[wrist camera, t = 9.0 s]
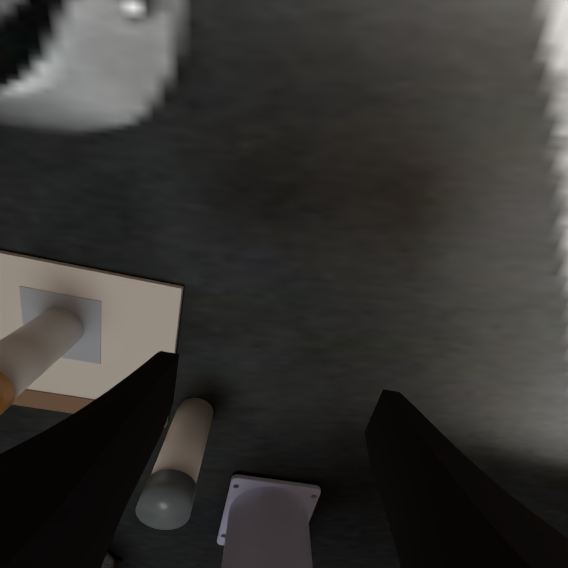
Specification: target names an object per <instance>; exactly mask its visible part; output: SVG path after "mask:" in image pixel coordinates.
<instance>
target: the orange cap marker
mask: <svg viewBox="0 0 568 568" xmlns="http://www.w3.org/2000/svg"><path fill="white" fill-rule="evenodd" d="M83 333H84V328H83V324H82V322H81V321H80V319H79V318H78V317H77V316H76V315H75V314H74V313H72V312H70V311H68V310H66V309H62V308H51V309H48V310H46V311H45V312H43V313H42V314H40V315H38V316H37V317H35V318H34V319H32V320H31V321H29V322H28V323H26V324H25V325H23V326H21V327H20V328H18V329H17V330H15V331H14V332H12V333H11V334H9V335H8V336H6V337H4V338H3V339H1V340H0V415H1V414H2V413H3V412H4V411H5V410H6V409H7V408H8V407H10V406H11V405H12V403H13V402H14V399H15V398H16V397H17V396H19V395H20V394H21V393H22V392H23V391H24V390H25V389H26V388H27V387H29V386H30V385H31V384H32V383H33V382H34V381H35V380H36V379H37V378H38V377H40V376H41V375H42V374H43V373H44V372H45V371H46V370H47V369H48V368H49V367H51V366H52V365H53V364H54V363H55V362H56V361H57V360H58V359H59V358H60V357H62V356H63V355H64V354H65V353H66V352H67V351H68V350H69V349H70V348H71V347H73V346H74V345H75V344H76V343H77V342H78V341H79V340H80V339H81V338H82V336H83Z"/></svg>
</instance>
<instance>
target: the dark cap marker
mask: <svg viewBox="0 0 568 568" xmlns="http://www.w3.org/2000/svg"><path fill="white" fill-rule="evenodd" d="M212 417H213V408H212V406H211V405H210V404H209V403H208V402H207V401H205V400H203V399H200V398H188V399H185V400H183V401H182V402H181V403H180V404H179V406H178V408H177V411H176V413H175V416H174V418H173V421H172V423H171V426H170V428H169V431H168V433H167V436H166V438H165V441H164V443H163V446H162V448H161V451H160V454H159V456H158V459H157V461H156V464H155V466H154V469H153V471H152V474H151V475H150V476H149V478H148V479H147V482H146V484H145V487H144V489H143V492H142V494H141V496H140V499H139V501H138V504H137V506H136V515H137V517H138V518H139V520H140V521H141V522H143V523H144V524H146V525H147V526H150V527H152V528H156V529H161V530H170V529H175V528H179V527H181V526H183V525H184V524H185V523H186V522H187V521H188V520H189V518H190V514H191V510H192V506H193V501H194V497H195V493H196V482H197V478H198V474H199V470H200V466H201V462H202V458H203V454H204V450H205V446H206V442H207V438H208V434H209V430H210V425H211V421H212Z"/></svg>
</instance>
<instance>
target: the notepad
mask: <svg viewBox="0 0 568 568" xmlns="http://www.w3.org/2000/svg"><path fill="white" fill-rule="evenodd" d="M183 287H184V286H179V285H174V284H169V283H164V282H159V281H154V280H149V279H144V278H139V277H134V276H128V275H123V274H118V273H113V272H108V271H103V270H98V269H93V268H88V267H83V266H78V265H72V264H67V263H62V262H57V261H52V260H47V259H42V258H37V257H32V256H27V255H22V254H16V253H11V252H6V251H1V250H0V340H1V339H3V338H4V337H6V336H8V335H9V334H11V333H12V332H14V331H15V330H17V329H18V328H20V327H21V326H23V325H25V324H26V323H28V322H29V321H31V320H32V319H34V318H35V317H37V316H38V315H40V314H42V313H43V312H45V311H46V310H48V309H51V308H62V309H66V310H68V311H70V312H72V313H74V314H75V315H76V316H77V317H78V318H79V319H80V321H81V322H82V324H83V328H84V333H83V336H82V338H81V339H80V340H79V341H78V342H77V343H76V344H75V345H74V346H73V347H71V348H70V349H69V350H68V351H67V352H66V353H65V354H64V355H63V356H62V357H60V358H59V359H58V360H57V361H56V362H55V363H54V364H53V365H52V366H51V367H49V368H48V369H47V370H46V371H45V372H44V373H43V374H42V375H41V376H40V377H38V378H37V379H36V380H35V381H34V382H33V383H32V384H31V385H30V386H29V387H27V388H26V389H25V390H24V391H23V392H22V393H21V394H20V395H19V396H17V397H16V398H15V399H14V402H13V403H12V404H13V405H20V406H26V407H33V408H40V409H47V410H53V411H60V412H67V413H75V412H77V411H79V410H80V409H82V408H83V407H85V406H86V405H88V404H89V403H91V402H92V401H94V400H95V399H97V398H98V397H100V396H101V395H103V394H104V393H105V392H107V391H108V390H110V389H111V388H112V387H114V386H115V385H117V384H118V383H119V382H121V381H122V380H123V379H125V378H126V377H127V376H129V375H130V374H131V373H133V372H134V371H135V370H136V369H138V368H139V367H140V366H141V365H143V364H144V363H145V362H146V361H148V360H149V359H150V358H151V357H153V356H154V355H155V354H156V353H158V352H159V351H164V352H170V353H176V347H177V339H178V330H179V322H180V313H181V304H182V296H183ZM168 416H169V415H168ZM167 423H168V418H167V421H166V423H165V426H164V427H166V425H167Z"/></svg>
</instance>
